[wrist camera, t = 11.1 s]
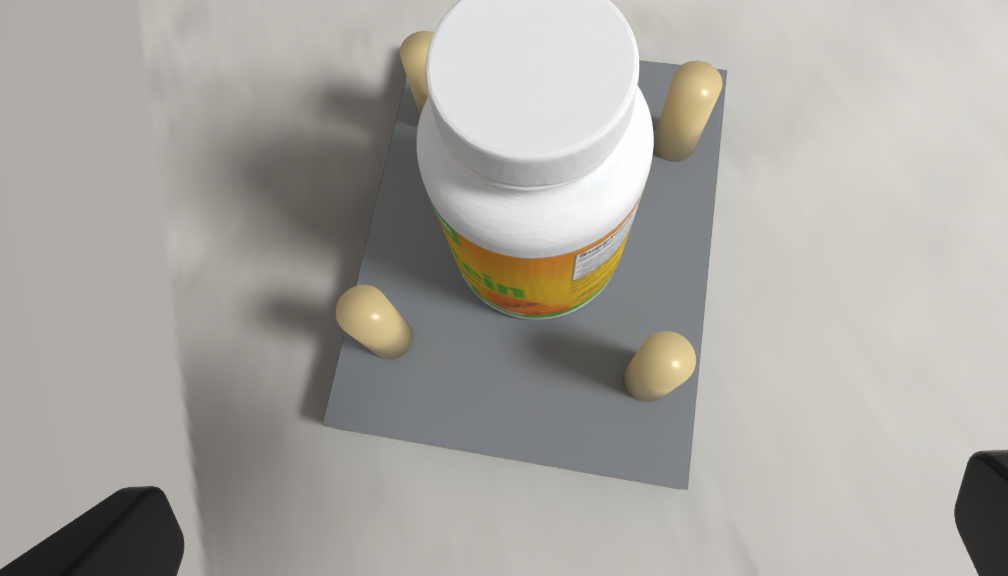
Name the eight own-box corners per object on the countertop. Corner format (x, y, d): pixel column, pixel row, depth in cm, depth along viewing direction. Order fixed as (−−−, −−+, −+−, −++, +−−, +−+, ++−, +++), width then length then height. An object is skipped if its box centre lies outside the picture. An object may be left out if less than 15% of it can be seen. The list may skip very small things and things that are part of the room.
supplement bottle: (420, 246, 22) (325, 71, 12) (533, 136, 23) (524, -106, 13) (541, 358, 20) (536, 258, 11) (656, 237, 21) (742, 48, 12)
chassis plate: (679, 489, 20) (718, 491, 16) (334, 427, 21) (278, 414, 17) (718, 89, 24) (758, -1, 19) (422, 55, 25) (395, -37, 21)
